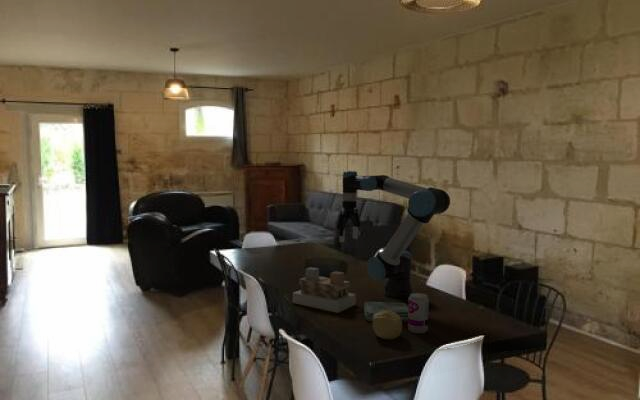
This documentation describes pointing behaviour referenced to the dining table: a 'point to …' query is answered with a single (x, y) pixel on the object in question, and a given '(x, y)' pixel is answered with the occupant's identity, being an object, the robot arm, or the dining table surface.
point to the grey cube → (312, 273)
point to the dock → (325, 301)
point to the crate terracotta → (337, 277)
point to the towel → (395, 307)
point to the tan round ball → (387, 324)
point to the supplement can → (418, 313)
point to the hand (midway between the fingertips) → (348, 240)
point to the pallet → (324, 288)
